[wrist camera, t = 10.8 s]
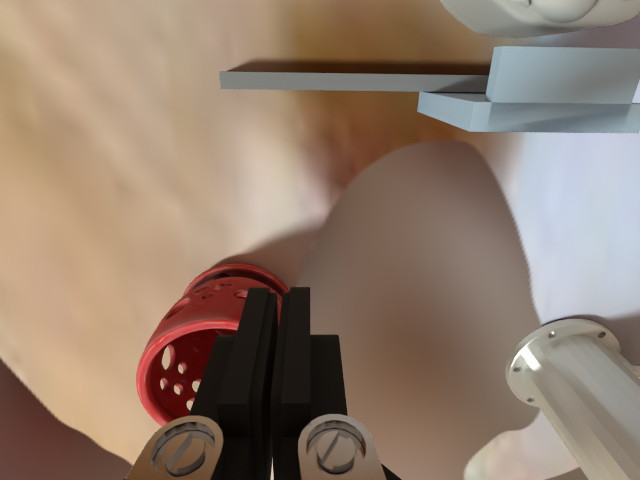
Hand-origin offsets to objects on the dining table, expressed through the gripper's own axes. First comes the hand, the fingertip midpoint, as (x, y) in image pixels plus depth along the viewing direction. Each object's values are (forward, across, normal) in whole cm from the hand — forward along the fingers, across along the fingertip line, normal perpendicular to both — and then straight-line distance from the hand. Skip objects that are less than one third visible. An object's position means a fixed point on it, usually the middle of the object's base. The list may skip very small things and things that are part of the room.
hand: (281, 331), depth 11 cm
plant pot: (+25, +6, +16) cm, 31 cm away
